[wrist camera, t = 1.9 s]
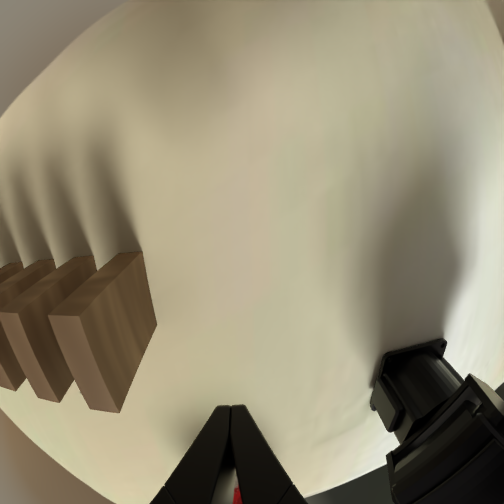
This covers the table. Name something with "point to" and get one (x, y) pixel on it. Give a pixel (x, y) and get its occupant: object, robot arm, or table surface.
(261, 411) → the table surface
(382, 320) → the table surface
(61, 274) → the domino
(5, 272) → the domino
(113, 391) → the domino
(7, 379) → the domino
